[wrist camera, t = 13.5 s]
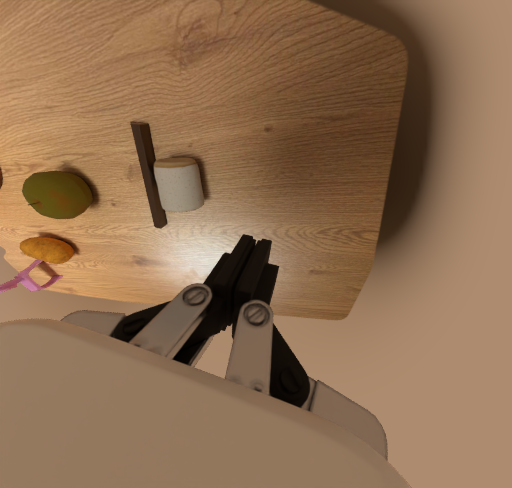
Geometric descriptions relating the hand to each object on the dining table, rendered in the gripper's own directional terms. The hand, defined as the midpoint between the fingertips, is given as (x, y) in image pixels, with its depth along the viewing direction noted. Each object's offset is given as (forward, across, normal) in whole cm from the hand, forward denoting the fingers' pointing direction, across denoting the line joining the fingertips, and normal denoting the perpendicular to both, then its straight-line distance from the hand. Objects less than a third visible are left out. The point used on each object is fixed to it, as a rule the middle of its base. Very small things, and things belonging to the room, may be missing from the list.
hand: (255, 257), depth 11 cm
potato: (+23, +66, +33) cm, 78 cm away
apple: (+24, +48, +12) cm, 55 cm away
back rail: (+24, +27, +7) cm, 37 cm away
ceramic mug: (+25, +21, +6) cm, 33 cm away
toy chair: (+23, +80, +48) cm, 97 cm away
